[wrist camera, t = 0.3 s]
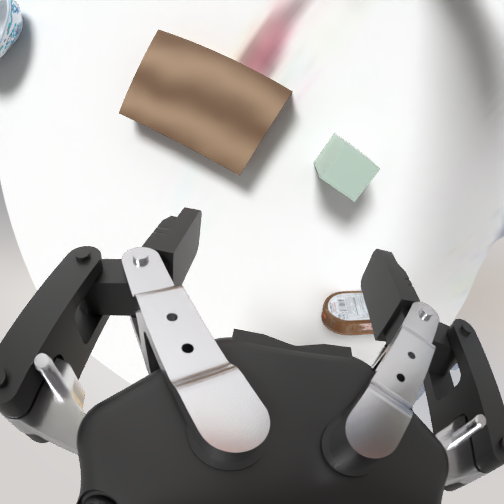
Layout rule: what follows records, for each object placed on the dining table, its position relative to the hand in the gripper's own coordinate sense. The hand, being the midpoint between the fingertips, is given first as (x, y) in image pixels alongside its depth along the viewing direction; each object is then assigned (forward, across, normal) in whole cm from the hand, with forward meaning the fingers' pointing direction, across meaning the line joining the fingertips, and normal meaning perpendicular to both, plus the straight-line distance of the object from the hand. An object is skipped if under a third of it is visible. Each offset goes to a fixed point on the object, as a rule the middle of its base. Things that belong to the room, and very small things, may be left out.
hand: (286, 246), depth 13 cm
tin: (+27, -19, +22) cm, 39 cm away
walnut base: (+26, +11, -4) cm, 29 cm away
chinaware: (+27, +53, -20) cm, 63 cm away
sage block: (+26, -8, 0) cm, 28 cm away
